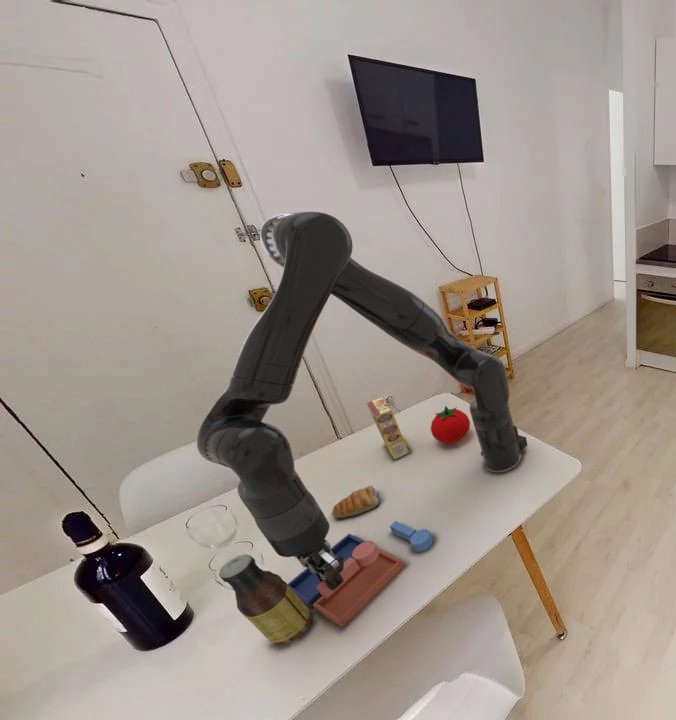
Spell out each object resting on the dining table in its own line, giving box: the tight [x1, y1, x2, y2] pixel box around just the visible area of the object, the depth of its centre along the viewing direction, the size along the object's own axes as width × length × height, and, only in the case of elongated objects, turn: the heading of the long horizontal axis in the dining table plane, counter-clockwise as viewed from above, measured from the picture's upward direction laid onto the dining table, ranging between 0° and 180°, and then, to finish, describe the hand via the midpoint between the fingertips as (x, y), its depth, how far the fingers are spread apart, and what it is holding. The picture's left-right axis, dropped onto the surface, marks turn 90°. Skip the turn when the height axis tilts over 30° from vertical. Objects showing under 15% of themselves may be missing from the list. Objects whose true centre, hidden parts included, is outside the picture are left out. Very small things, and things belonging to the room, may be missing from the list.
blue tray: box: [287, 533, 366, 609], centre depth 84 cm, size 13×8×2 cm, turn 156°
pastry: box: [331, 485, 379, 519], centre depth 98 cm, size 9×7×4 cm
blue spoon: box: [389, 520, 434, 553], centre depth 90 cm, size 11×4×3 cm, turn 66°
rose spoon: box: [316, 540, 379, 598], centre depth 78 cm, size 11×4×3 cm, turn 156°
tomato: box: [430, 405, 471, 444], centre depth 118 cm, size 10×10×10 cm
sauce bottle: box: [218, 553, 313, 646], centre depth 70 cm, size 6×6×20 cm
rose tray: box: [313, 548, 405, 629], centre depth 81 cm, size 13×8×2 cm, turn 156°
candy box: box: [366, 397, 410, 460], centre depth 113 cm, size 9×4×15 cm, turn 44°
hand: (333, 583), depth 76 cm, fingers closed on rose spoon, 1 cm apart
